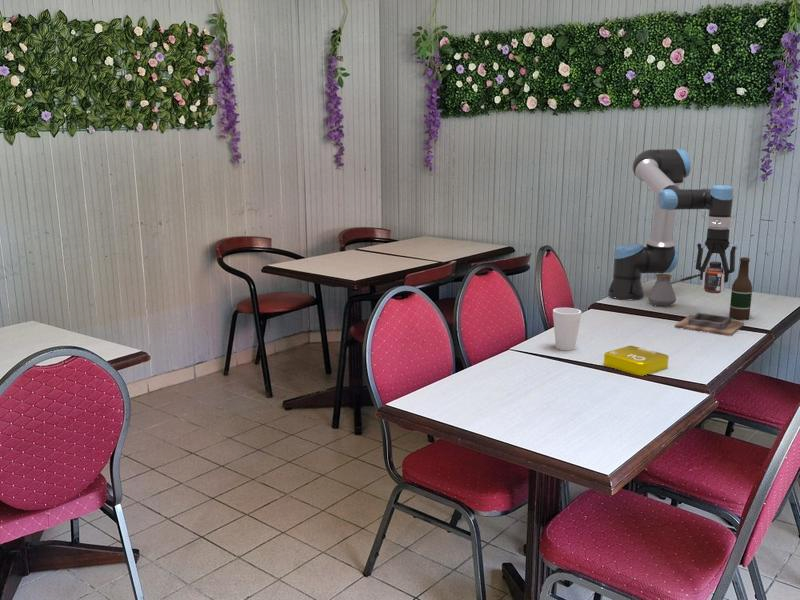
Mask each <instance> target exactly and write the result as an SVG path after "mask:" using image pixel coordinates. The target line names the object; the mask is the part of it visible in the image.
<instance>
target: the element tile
mask: <svg viewBox="0 0 800 600" xmlns="http://www.w3.org/2000/svg"><path fill="white" fill-rule="evenodd" d="M603 366H605V367H607V368H610V367H611V369H613V368H614V369H613V370H617V369H618V371H620V370H621V371H622V372H624V373H628V374H631V375H634V376H638V375H639V377H644V375H646V376H648V375H647V374H649V375H652V374H655V373H658V372H661V371H663V370H666V369H668V366H669V355H668V354H667V353H666V354H665V353H662V352H657V351H653V350H650V349H646V348H642V347H638V346H635V345H628V346H624V347H619V348H617V349H613V350H609V351H607V352H604V356H603ZM660 370H661V371H660ZM657 371H658V372H657ZM654 372H655V373H654ZM651 373H652V374H651Z"/></svg>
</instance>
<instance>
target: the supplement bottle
mask: <svg viewBox="0 0 800 600" xmlns="http://www.w3.org/2000/svg"><path fill="white" fill-rule="evenodd" d="M705 271H706V278H705V289H704V291H705V292H706V293H708V294H720V293H722V291H721V280H722V274H723V273H724V269H723V267H722V261H709V266H708V267H706V269H705Z"/></svg>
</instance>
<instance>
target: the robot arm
mask: <svg viewBox="0 0 800 600" xmlns="http://www.w3.org/2000/svg"><path fill="white" fill-rule="evenodd" d="M691 169H692V164H691V158H690V156H689V154H688V152H687V151H686V150H684V149H678V148H666V149H665V148H662V149H661V148H660V149H654V148H653V149H647V150H644V151H642V152H640V153H639V154H638V155H637V156H636V157H635V159H634V160H633V162H632V172H633V174H634V175H635V177H636V178H637V179H638V180H639V181H642V182H644V183H645V184H646V185H647V186H648V187H649V188H650V189H651V191H653V192H654V194H655V203H654V210H653V211H654V212H653V219H652V220H653V221H652V228H651V236H650V239H648V240H647V241H646V246H643V243H639V242H638V243H637V242H636V243H633V242H632V243H631V242H630V243H624V244H620V245H617V246H616V248H614V256H613V258H614V260H613V275H612V276H613V278H612V280H611V283H610V284H609V285H610V286H609V288H608V291H607V296H608V297H609V298H611V297H613V298H612V299H615V298H614V297H616V298H619V299H618V300H622V299H638V300H642V299H643V298H644V295H645V294H644V288H643V285H642V281H641V279H642V278H641V277H642V274H668V273H671V272H673V271H674V270H675V268H677V265H678V262H679V250H678V248H677V247H676V246H675V242H674V241H673V240H672V239H673V232H674V225H675V224H674V223H675V217H676V210H708V220H707V227H708V228H707V232H706V240H705V241H704V242H699V243H697V254H696V255H697V256H696V262H695V270H698V271H699V274H700V276H699V280H700V281H701V290H705V278H706V269H707V268H708V267H707V266H708V264H709V263H710V261H711V258H712V256H713V254H719V257H720V260H721V261H720V262H721V266H722V269H723V274H722V280H721V293H722V292H724V291H725V287H726V283H728V282H729V276H730V274H733V273H734V272H735V270H736V251H737V249H738V246H737V245H733V244H732V243H730V229H729V228H730V227H731V220H732V216H731V215H732V209H733V208H732V207H733V201H734V200H733V199H734V195H733V194H734V187H733V186H731V185H723V184H722V185H721V184H720V185H719V184H717V185H713V186H711V188H708V187H707V188H704V187H703V188H700V189H699V188H698V189H695V188H693V189H689V188H686V189H685V188H682V189H681V188H680V186H681V185H682V184H683V183H684V179H686V178H688V177H689V176H690V172H691ZM705 247H706V248H707V253H706V256H705V258H704V261H703V263H702V260H703V256H704V249H705ZM728 248H729V252H730V253H729V264H728V261H727V256H726V250H727V249H728Z"/></svg>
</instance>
